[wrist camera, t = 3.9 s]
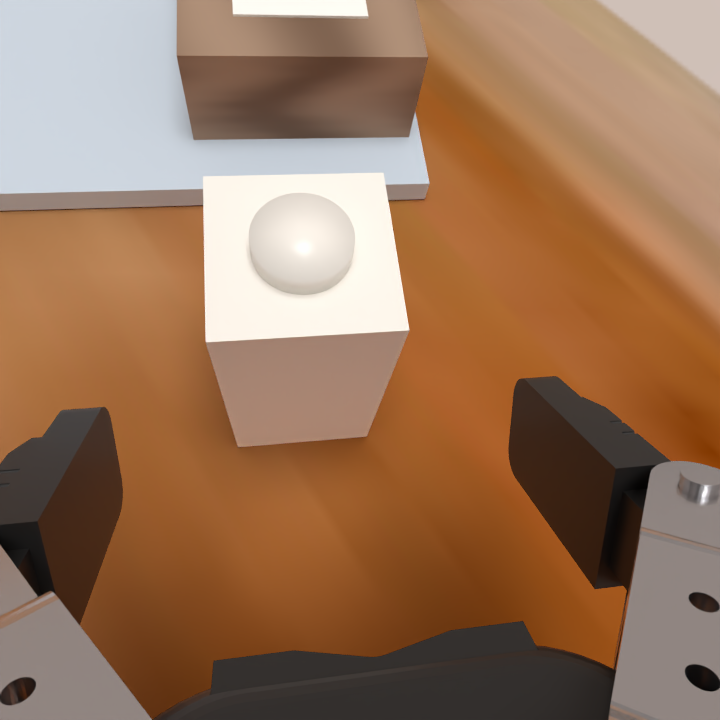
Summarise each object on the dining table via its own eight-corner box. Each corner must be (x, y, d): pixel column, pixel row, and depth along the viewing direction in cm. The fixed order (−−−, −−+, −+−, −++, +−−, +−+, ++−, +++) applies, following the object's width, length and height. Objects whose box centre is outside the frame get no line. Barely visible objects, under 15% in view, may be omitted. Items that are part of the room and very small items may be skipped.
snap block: (237, 447, 21) (202, 329, 12) (233, 330, 22) (199, 159, 14) (366, 436, 21) (414, 318, 13) (352, 323, 23) (387, 155, 15)
